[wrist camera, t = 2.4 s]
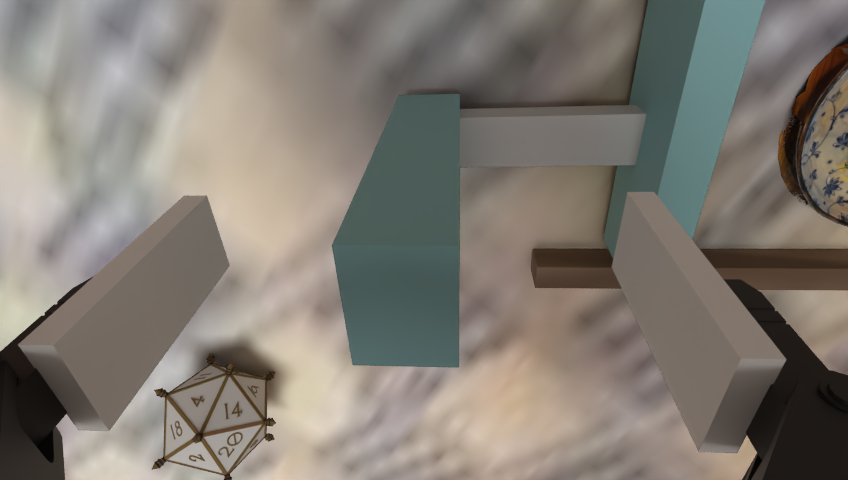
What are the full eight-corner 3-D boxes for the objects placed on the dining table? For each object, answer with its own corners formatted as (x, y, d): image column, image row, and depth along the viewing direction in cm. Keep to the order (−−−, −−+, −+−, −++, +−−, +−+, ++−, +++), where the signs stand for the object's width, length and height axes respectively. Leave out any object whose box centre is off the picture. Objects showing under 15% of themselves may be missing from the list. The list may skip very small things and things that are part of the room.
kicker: (638, 239, 27) (792, 486, 15) (411, 239, 28) (370, 469, 16) (702, -36, 20) (1123, -23, 7) (394, -22, 21) (291, 12, 8)
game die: (251, 325, 39) (215, 342, 29) (310, 404, 39) (294, 448, 29) (159, 391, 38) (89, 433, 28) (221, 473, 38) (173, 543, 28)
